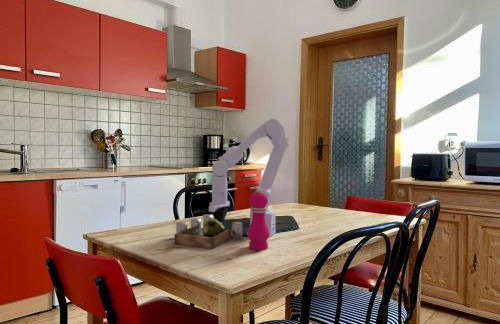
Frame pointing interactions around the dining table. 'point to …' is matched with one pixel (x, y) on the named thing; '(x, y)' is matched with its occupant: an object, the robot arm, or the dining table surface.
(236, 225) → the tin left
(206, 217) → the grey metal cylinder
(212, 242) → the tray
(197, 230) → the tin right near
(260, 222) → the pepper mill
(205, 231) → the pale green lumpy ball
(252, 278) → the dining table surface
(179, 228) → the tin right far
